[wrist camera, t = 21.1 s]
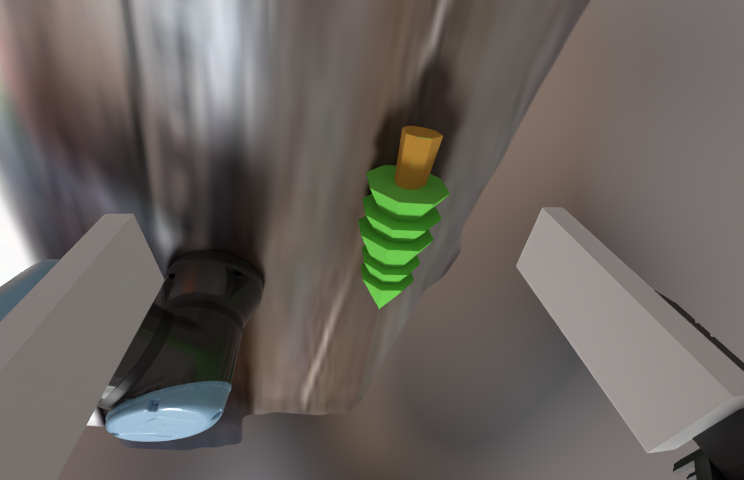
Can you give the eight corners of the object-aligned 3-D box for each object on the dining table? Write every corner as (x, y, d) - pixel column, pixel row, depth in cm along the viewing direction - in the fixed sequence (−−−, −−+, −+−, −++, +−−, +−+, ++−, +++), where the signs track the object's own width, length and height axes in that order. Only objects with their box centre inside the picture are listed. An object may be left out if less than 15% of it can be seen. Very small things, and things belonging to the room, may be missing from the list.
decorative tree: (465, 157, 32) (404, 344, 49) (467, 130, 41) (415, 295, 58) (358, 132, 34) (335, 322, 51) (383, 111, 43) (356, 277, 60)
